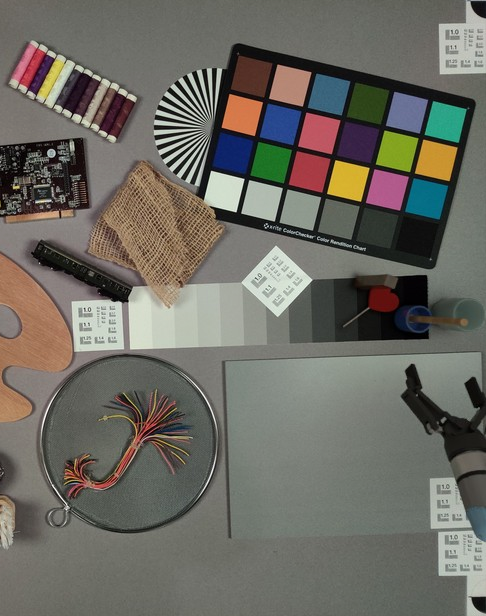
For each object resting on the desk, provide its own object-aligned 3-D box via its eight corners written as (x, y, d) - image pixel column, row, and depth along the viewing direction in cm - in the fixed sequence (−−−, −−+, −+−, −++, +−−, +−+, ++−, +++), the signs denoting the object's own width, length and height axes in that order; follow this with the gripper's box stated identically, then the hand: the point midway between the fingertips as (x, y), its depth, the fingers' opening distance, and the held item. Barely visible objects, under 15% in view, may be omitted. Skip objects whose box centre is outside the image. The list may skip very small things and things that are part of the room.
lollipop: (351, 339, 144) (401, 303, 144) (353, 340, 143) (403, 303, 143) (332, 313, 143) (382, 277, 143) (334, 313, 143) (384, 276, 143)
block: (366, 279, 144) (398, 278, 130) (362, 289, 144) (394, 289, 130) (356, 276, 144) (387, 274, 130) (352, 286, 144) (383, 285, 130)
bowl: (423, 310, 144) (436, 311, 139) (414, 335, 144) (426, 336, 139) (399, 301, 144) (411, 301, 139) (390, 326, 144) (402, 327, 139)
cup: (423, 327, 144) (450, 329, 134) (428, 295, 144) (455, 295, 134) (454, 331, 144) (483, 334, 134) (459, 300, 144) (489, 300, 134)
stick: (413, 316, 143) (470, 319, 123) (410, 323, 143) (466, 328, 123) (406, 313, 143) (461, 316, 123) (403, 320, 143) (458, 325, 123)
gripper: (398, 456, 116) (375, 372, 131) (519, 482, 116) (483, 395, 131) (420, 436, 111) (393, 351, 125) (547, 463, 111) (506, 375, 126)
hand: (439, 373), depth 128 cm, fingers open, 13 cm apart
